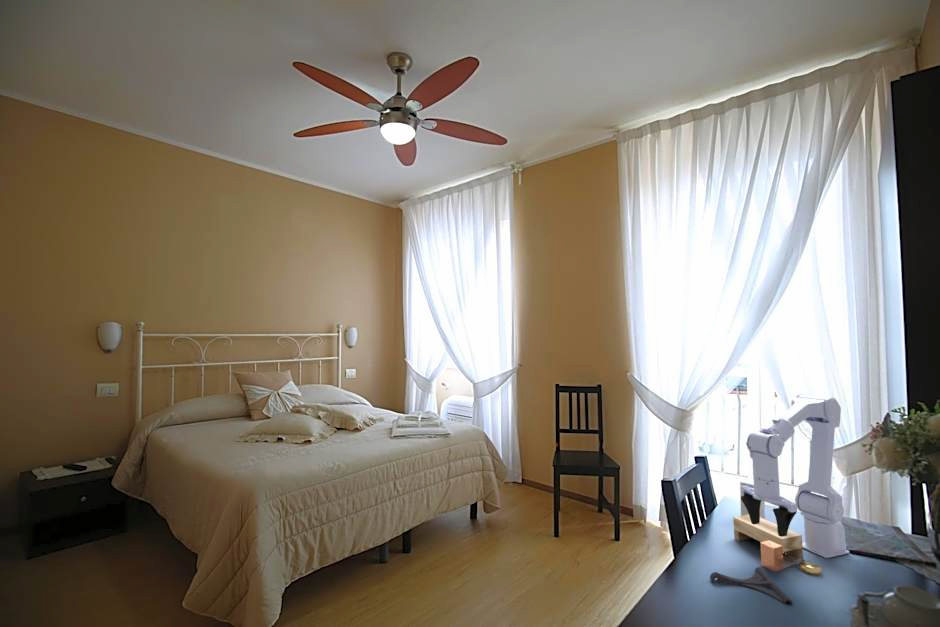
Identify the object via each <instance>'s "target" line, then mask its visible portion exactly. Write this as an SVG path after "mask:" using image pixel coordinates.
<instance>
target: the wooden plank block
mask: <svg viewBox="0 0 940 627" xmlns="http://www.w3.org/2000/svg"><path fill="white" fill-rule="evenodd" d="M732 518H733V538H734V540H736V541H738V542H740V541H739V540H742V541H745V539H747V540H755V539H756V541H757V542H759V543H761V542H764V541H768V540H770V541H772V542H774V543H777V544H779V545H781V546H782V548H783V552H784V553H786V554H792V555H794V556H796V557H799V558H801V559H802V560H804V550H803V549H804V548H803V547H802V543H803V535H802V534H800V533H797V532H795V531H793V530H791V529H789V528H788V532H787V536H783V537H781V536H779V535H778V530H777V523H774V522H772V521H769V520H767V519H766V518H765V519H763V518H761V517H760V522H759V524H752V523H751V520H750V516H749V515H743V516H741V515H738V516H734V517H733V516H732ZM784 553H783V554H784ZM786 554H785V555H786Z"/></svg>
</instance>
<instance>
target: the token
mask: <svg viewBox="0 0 940 627" xmlns="http://www.w3.org/2000/svg"><path fill="white" fill-rule="evenodd" d="M799 569H800V570H801V572H803V573H806V574H808V575H812V576H821V575H822V567H821V566H820V565H818V564H816V563H814V562H810V561H805V560H804V561H803V560H802V562H800V563H799Z"/></svg>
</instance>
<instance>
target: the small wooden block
mask: <svg viewBox="0 0 940 627" xmlns="http://www.w3.org/2000/svg"><path fill="white" fill-rule="evenodd" d="M759 543H760V563H761V566H762V567H764V568H766V569H768V570H770V571H772V572H775V573H777V572H780V571H782V569H783V570H784V569H785V568H784V567H786V568H788V567H787V566H789V567H791V566H790V565H793V566H795V565H794V564H796V565H799V564H800V562H802V561H803V559H801V558H799V557H796V556H794V555H792V554H787V555H786V554H784V553H783V548H782V546H781V545H779V544H777V543H774V542H772V541H770V540H768V541H764V542H759ZM798 563H799V564H798ZM779 570H780V571H779Z"/></svg>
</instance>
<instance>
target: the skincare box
mask: <svg viewBox="0 0 940 627" xmlns="http://www.w3.org/2000/svg"><path fill="white" fill-rule="evenodd" d="M745 485H746V486H749V487H752V488H754V480H749V479H746V478H745V479H744V480H741V481H740V483H739V487H740V486H745ZM739 495H740V497H741V496H744V494H742V493H740V494H739ZM765 508H766V506H765V501H763V500H761V504H760V517H761V518H763V519H765V520H766V513H765V510H766V509H765ZM743 515H749V514H748V511H747V509H746V507H745V505H744V503H743V502H742V500H741V499H740V516H743Z"/></svg>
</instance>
